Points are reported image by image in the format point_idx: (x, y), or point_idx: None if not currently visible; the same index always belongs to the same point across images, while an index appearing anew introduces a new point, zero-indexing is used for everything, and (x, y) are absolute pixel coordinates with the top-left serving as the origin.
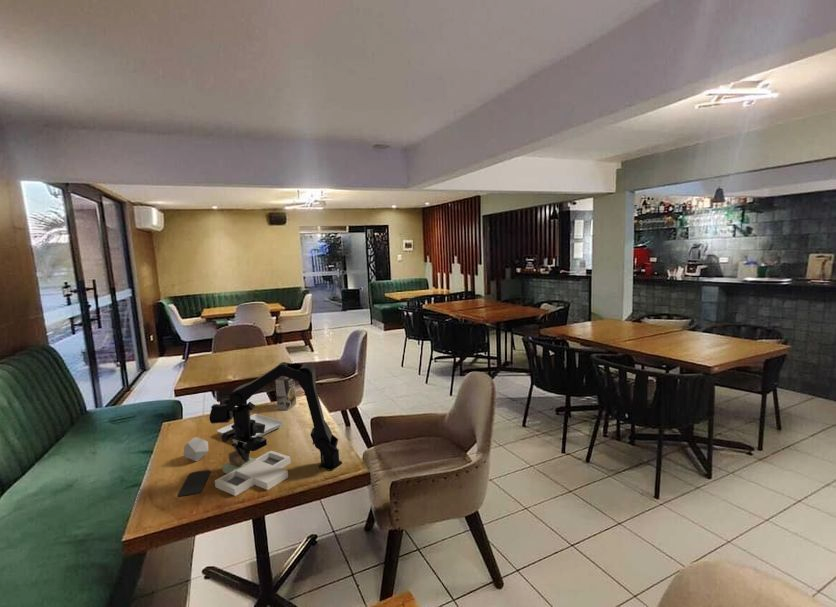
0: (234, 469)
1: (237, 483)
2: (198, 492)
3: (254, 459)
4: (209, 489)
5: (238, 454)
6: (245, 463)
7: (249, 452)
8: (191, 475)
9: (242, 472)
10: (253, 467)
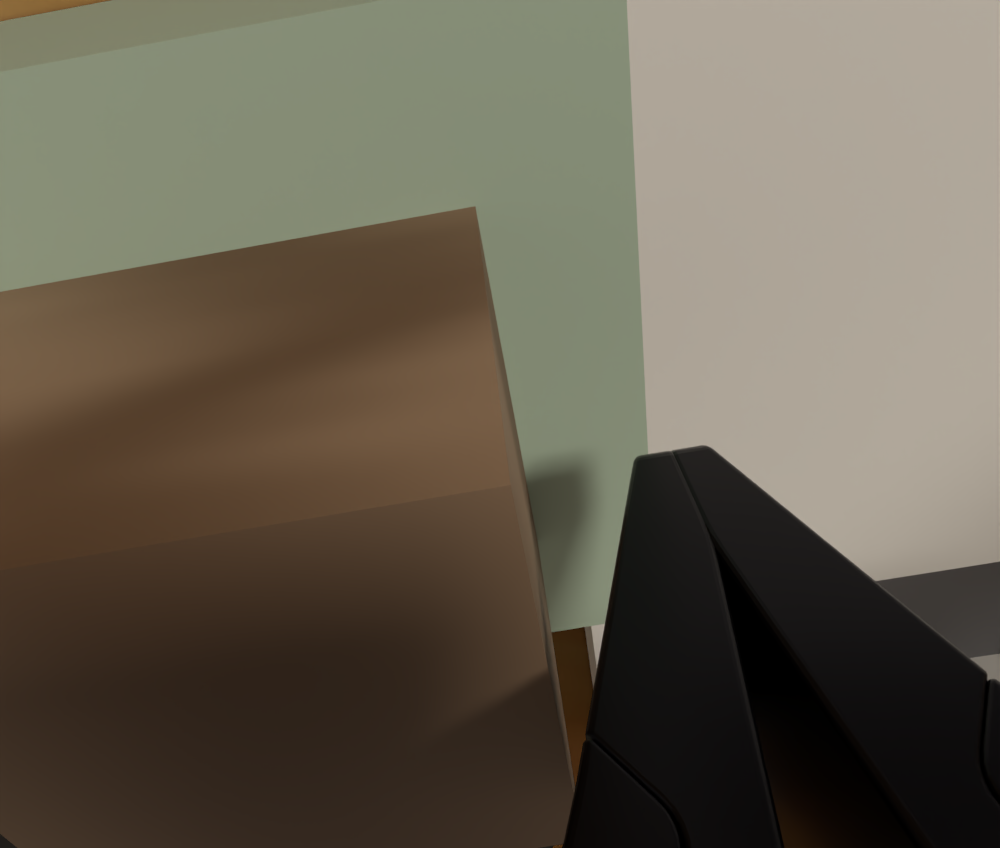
0: (567, 612)
1: (880, 583)
2: (550, 846)
3: (523, 17)
4: (577, 769)
5: (430, 787)
6: (522, 364)
7: (987, 695)
8: (2, 839)
9: (865, 561)
10: (969, 318)
